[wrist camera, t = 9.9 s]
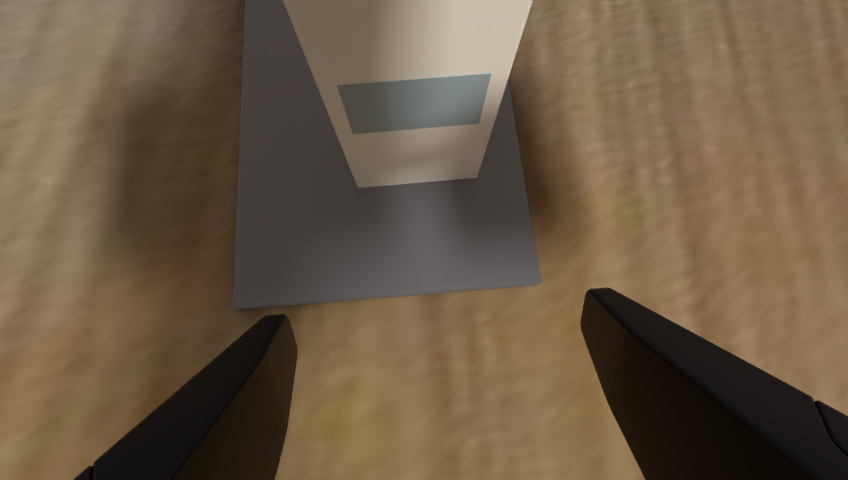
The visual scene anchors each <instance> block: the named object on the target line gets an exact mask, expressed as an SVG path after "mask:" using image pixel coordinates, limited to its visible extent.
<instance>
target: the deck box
mask: <svg viewBox="0 0 848 480" xmlns="http://www.w3.org/2000/svg"><path fill="white" fill-rule="evenodd" d="M532 1H533V0H283V2H284V4H285V7H286V9H287V12H288V14H289V17H290V19H291V22H292V24H293V27H294V29H295V32H296V34H297V37H298V39H299V42H300V44H301V47H302V49H303V52H304V54H305V57H306V59H307V62H308V64H309V67H310V69H311V72H312V74H313V77H314V79H315V82H316V84H317V87H318V89H319V92H320V94H321V97H322V99H323V102H324V104H325V107H326V109H327V112H328V114H329V117H330V119H331V122H332V124H333V127H334V129H335V132H336V134H337V137H338V139H339V142H340V144H341V147H342V149H343V152H344V154H345V157H346V159H347V162H348V164H349V167H350V169H351V172H352V174H353V177H354V179H355V182H356V184H357V187H358V188H364V187H376V186H387V185H399V184H410V183H422V182H433V181H445V180H456V179H468V178H477V176H478V173H479V170H480V167H481V163H482V160H483V157H484V154H485V151H486V148H487V144H488V141H489V138H490V135H491V132H492V128H493V125H494V122H495V119H496V116H497V112H498V109H499V106H500V103H501V100H502V97H503V93H504V90H505V87H506V84H507V81H508V77H509V74H510V71H511V68H512V65H513V61H514V58H515V55H516V52H517V49H518V46H519V42H520V39H521V36H522V33H523V30H524V26H525V23H526V20H527V17H528V14H529V10H530V7H531V4H532Z"/></svg>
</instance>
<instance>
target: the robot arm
mask: <svg viewBox="0 0 848 480" xmlns="http://www.w3.org/2000/svg"><path fill="white" fill-rule="evenodd" d="M581 330H582V334H583V337H584V339H585V342H586V345H587V348H588V350H589V353H590V356H591V359H592V361H593V364H594V367H595V370H596V372H597V375H598V378H599V381H600V383H601V386H602V389H603V392H604V394H605V397H606V399H607V402H608V404H609V406H610V408H611V411H612V413H613V415H614V417H615V419H616V421H617V423H618V425H619V427H620V429H621V431H622V433H623V435H624V437H625V439H626V441H627V443H628V445H629V447H630V449H631V451H632V453H633V455H634V457H635V460H636V462H637V464H638V466H639V468H640V470H641V472H642V474H643V476H644V478H645V480H848V416H847V415H845V414H843V413H841V412H839V411H837V410H835V409H834V408H832V407H830V406H828V405H826V404H824V403H823V402H821V401H814V399H813V398H812V397H811V396H809V395H807V394H806V393H804V392H802V391H800V390H798V389H796V388H794V387H793V386H791V385H789V384H787V383H785V382H783V381H781V380H780V379H778V378H776V377H774V376H772V375H770V374H768V373H767V372H765V371H763V370H761V369H759V368H757V367H756V366H754V365H752V364H750V363H748V362H746V361H744V360H743V359H741V358H739V357H737V356H735V355H733V354H731V353H730V352H728V351H726V350H724V349H722V348H720V347H718V346H717V345H715V344H713V343H711V342H709V341H707V340H705V339H704V338H702V337H700V336H698V335H696V334H694V333H692V332H691V331H689V330H687V329H685V328H683V327H681V326H679V325H678V324H676V323H674V322H672V321H670V320H668V319H666V318H665V317H663V316H661V315H659V314H657V313H655V312H654V311H652V310H650V309H648V308H646V307H644V306H642V305H641V304H639V303H637V302H635V301H633V300H631V299H629V298H628V297H626V296H624V295H622V294H620V293H618V292H616V291H615V290H613V289H611V288H595V289H590V290H588V291H587V292H586V295H585V300H584V305H583V311H582V316H581ZM296 362H297V345H296V341H295V338H294V334H293V331H292V327H291V324H290V320H289V318H288V317H287V316H286V315H284V314H279V315H268V316H265V317H263V318H262V319H260V320H259V321H258V322H257V323H256V324H255V325H253V326H252V327H251V328H250V329H249V330H248V331H246V332H245V333H244V334H243V335H242V336H241V337H239V338H238V339H237V340H236V341H235V342H234V343H232V344H231V345H230V346H229V347H228V348H227V349H225V350H224V351H223V352H222V353H221V354H220V355H218V356H217V357H216V358H215V359H214V360H213V361H211V362H210V363H209V364H208V365H207V366H206V367H204V368H203V369H202V370H201V371H200V372H199V373H197V374H196V375H195V376H194V377H193V378H192V379H190V380H189V381H188V382H187V383H186V384H185V385H183V386H182V387H181V388H180V389H179V390H178V391H176V392H175V393H174V394H173V395H172V396H171V397H169V398H168V399H167V400H166V401H165V402H164V403H162V404H161V405H160V406H159V407H158V408H157V409H155V410H154V411H153V412H152V413H151V414H149V415H148V416H147V417H146V418H145V419H144V420H142V421H141V422H140V423H139V424H138V425H137V426H135V427H134V428H133V429H132V430H131V431H130V432H128V433H127V434H126V435H125V436H124V437H123V438H121V439H120V440H119V441H118V442H117V443H116V444H114V445H113V446H112V447H111V448H110V449H109V450H107V451H106V452H105V453H104V454H103V455H102V456H100V457H99V458H98V459H97V460H96V461H95V462H94V465H93V466H89V467H87V468H86V469H85V470H84V471H83V472H82V473H80V474H79V475H78V476H77V477H76V478H75V479H73V480H275V477H276V473H277V469H278V465H279V461H280V457H281V453H282V449H283V445H284V441H285V436H286V432H287V426H288V420H289V413H290V406H291V398H292V391H293V384H294V376H295V369H296Z"/></svg>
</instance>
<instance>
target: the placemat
mask: <svg viewBox="0 0 848 480" xmlns="http://www.w3.org/2000/svg"><path fill="white" fill-rule="evenodd" d="M540 283H541V278H540V272H539V266H538V260H537V254H536V247H535V241H534V235H533V229H532V222H531V216H530V210H529V204H528V198H527V191H526V185H525V179H524V173H523V167H522V160H521V154H520V148H519V142H518V135H517V129H516V123H515V117H514V111H513V104H512V98H511V92H510V86H509V79H508V81H507V84H506V87H505V90H504V93H503V97H502V100H501V103H500V106H499V109H498V112H497V116H496V119H495V122H494V125H493V128H492V132H491V135H490V138H489V141H488V144H487V148H486V151H485V154H484V157H483V160H482V163H481V167H480V170H479V173H478V176H477V178H468V179H456V180H445V181H433V182H422V183H410V184H399V185H387V186H376V187H364V188H358V187H357V184H356V182H355V179H354V177H353V174H352V172H351V169H350V167H349V164H348V162H347V159H346V157H345V154H344V152H343V149H342V147H341V144H340V142H339V139H338V137H337V134H336V132H335V129H334V127H333V124H332V122H331V119H330V117H329V114H328V112H327V109H326V107H325V104H324V102H323V99H322V97H321V94H320V92H319V89H318V87H317V84H316V82H315V79H314V77H313V74H312V72H311V69H310V67H309V64H308V62H307V59H306V57H305V54H304V52H303V49H302V47H301V44H300V42H299V39H298V37H297V34H296V32H295V29H294V27H293V24H292V22H291V19H290V17H289V14H288V12H287V9H286V7H285V4H284V2H283V0H245V11H244V35H243V59H242V83H241V107H240V131H239V155H238V179H237V203H236V227H235V251H234V275H233V299H232V308H233V309H238V310H241V309H254V308H266V307H278V306H290V305H302V304H314V303H326V302H338V301H350V300H362V299H374V298H386V297H398V296H410V295H422V294H435V293H447V292H459V291H471V290H483V289H495V288H507V287H519V286H531V285H538V284H540Z"/></svg>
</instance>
